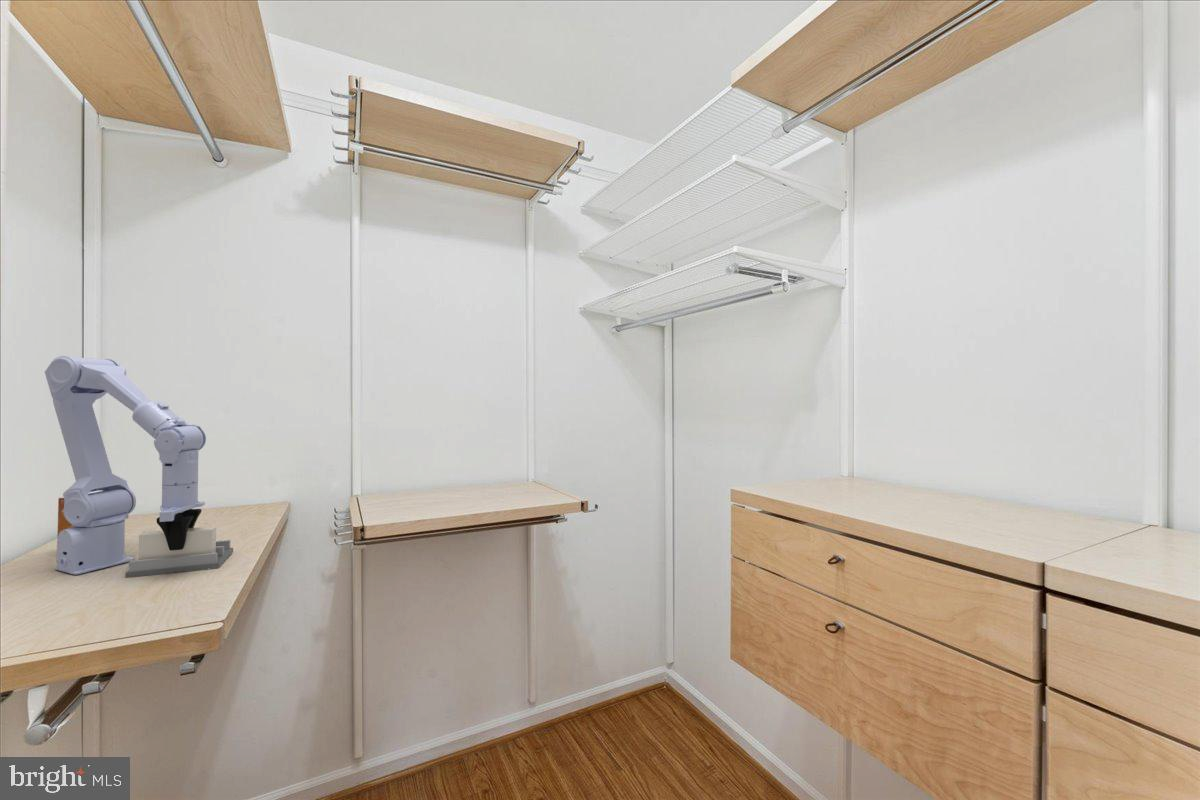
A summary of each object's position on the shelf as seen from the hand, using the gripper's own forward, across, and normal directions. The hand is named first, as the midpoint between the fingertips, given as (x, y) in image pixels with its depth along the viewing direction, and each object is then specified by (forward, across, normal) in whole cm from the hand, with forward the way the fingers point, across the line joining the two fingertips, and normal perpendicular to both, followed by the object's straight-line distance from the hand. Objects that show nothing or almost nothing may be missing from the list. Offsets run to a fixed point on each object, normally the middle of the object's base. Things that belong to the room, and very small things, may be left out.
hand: (179, 547), depth 101 cm
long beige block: (+2, 0, 0) cm, 2 cm away
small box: (+4, +21, +23) cm, 31 cm away
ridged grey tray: (+4, +2, 0) cm, 5 cm away
